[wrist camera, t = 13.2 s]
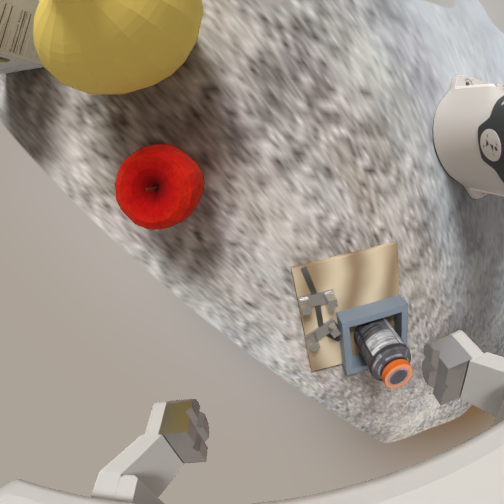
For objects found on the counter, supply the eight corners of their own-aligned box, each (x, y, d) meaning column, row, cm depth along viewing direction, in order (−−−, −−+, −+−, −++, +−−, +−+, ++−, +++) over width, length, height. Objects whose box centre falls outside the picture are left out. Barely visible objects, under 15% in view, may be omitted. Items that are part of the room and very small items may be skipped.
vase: (213, 100, 35) (137, 11, 8) (92, 113, 34) (-86, 108, 8) (215, -11, 29) (180, -167, 3) (99, 7, 29) (-29, -79, 3)
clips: (333, 288, 42) (338, 296, 40) (339, 336, 45) (343, 345, 42) (297, 297, 42) (299, 306, 40) (306, 344, 45) (309, 354, 43)
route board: (394, 241, 41) (397, 243, 40) (397, 343, 47) (399, 346, 46) (290, 266, 42) (291, 269, 41) (310, 367, 48) (311, 371, 47)
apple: (218, 154, 37) (208, 159, 27) (198, 220, 40) (182, 249, 29) (151, 135, 36) (118, 134, 26) (134, 201, 39) (98, 222, 28)
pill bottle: (380, 347, 46) (407, 394, 35) (348, 344, 45) (370, 395, 35) (394, 315, 44) (426, 359, 33) (360, 311, 43) (388, 359, 33)
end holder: (399, 294, 43) (408, 304, 40) (399, 346, 46) (406, 357, 43) (336, 312, 43) (341, 323, 41) (342, 363, 47) (346, 375, 44)
